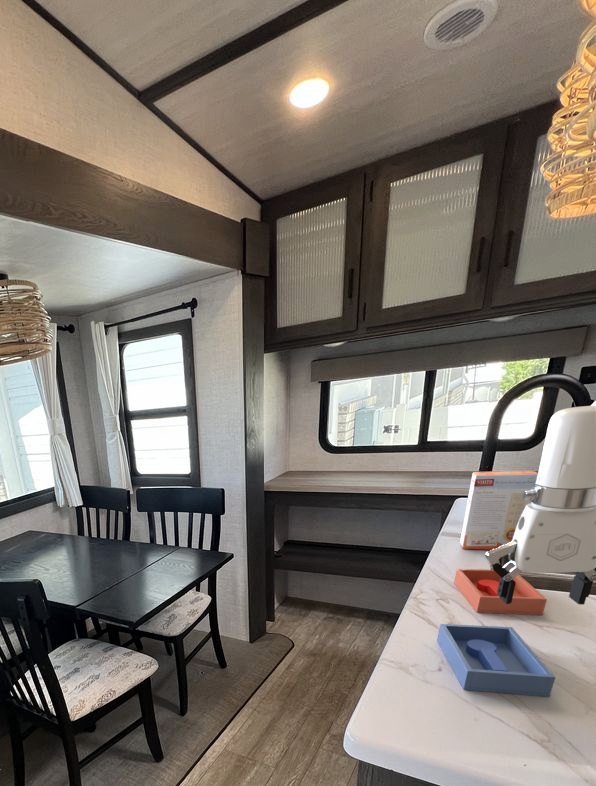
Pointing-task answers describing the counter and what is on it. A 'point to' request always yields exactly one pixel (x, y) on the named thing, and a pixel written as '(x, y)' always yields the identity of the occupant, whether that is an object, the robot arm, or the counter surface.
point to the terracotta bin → (522, 601)
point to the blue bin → (511, 649)
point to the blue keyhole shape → (485, 654)
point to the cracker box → (495, 507)
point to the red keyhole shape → (488, 586)
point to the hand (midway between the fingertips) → (539, 600)
